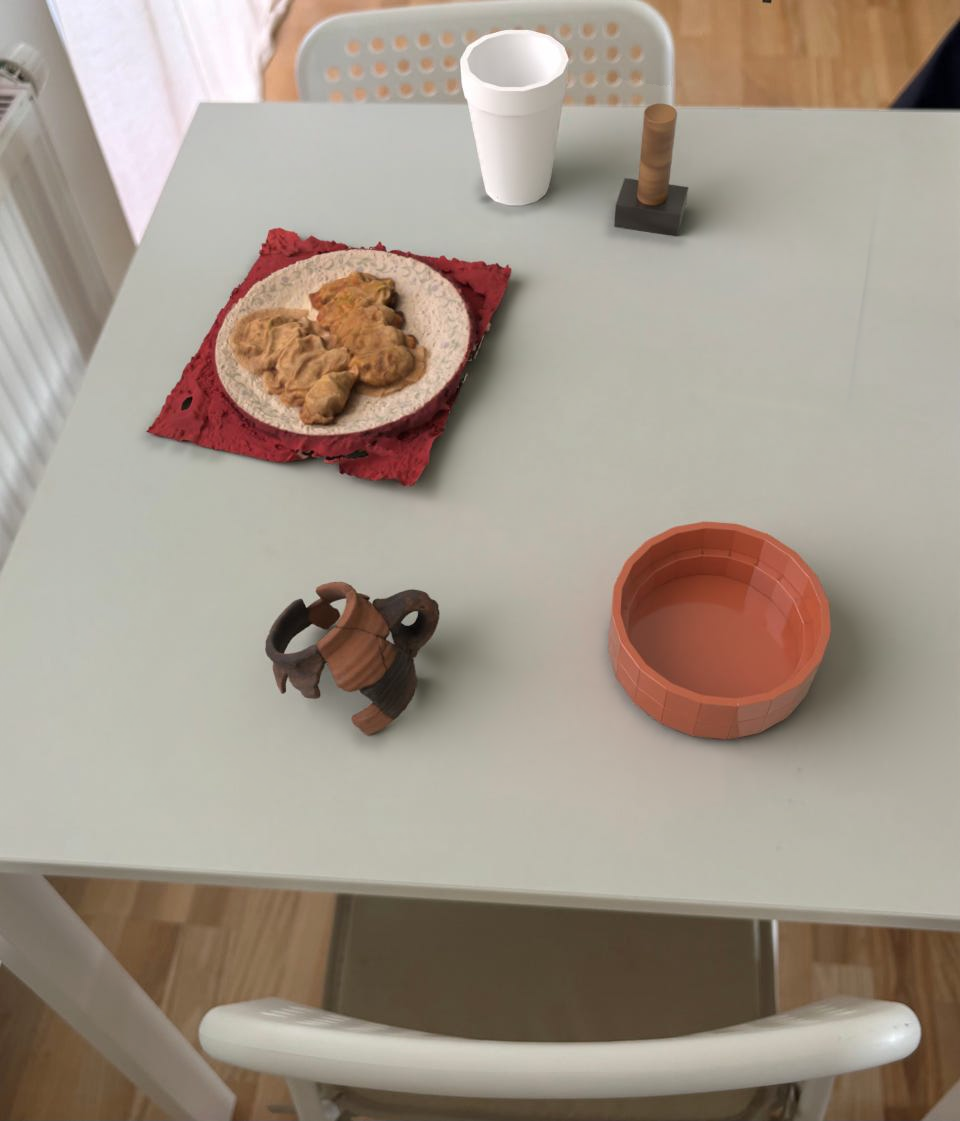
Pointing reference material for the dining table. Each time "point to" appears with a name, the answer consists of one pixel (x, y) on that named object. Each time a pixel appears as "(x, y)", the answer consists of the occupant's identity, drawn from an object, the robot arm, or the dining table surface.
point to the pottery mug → (356, 648)
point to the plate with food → (336, 356)
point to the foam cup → (515, 110)
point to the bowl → (717, 629)
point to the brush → (653, 180)
